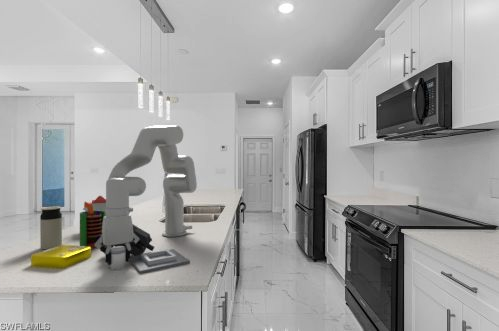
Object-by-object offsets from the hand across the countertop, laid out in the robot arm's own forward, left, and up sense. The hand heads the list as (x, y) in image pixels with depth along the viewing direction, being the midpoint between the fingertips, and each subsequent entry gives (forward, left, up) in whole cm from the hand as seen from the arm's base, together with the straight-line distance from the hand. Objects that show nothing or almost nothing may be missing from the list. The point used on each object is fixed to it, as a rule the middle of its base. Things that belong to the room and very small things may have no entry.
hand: (117, 261), depth 103 cm
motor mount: (-14, +2, -2) cm, 14 cm away
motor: (+5, -36, -2) cm, 36 cm away
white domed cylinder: (0, 0, -2) cm, 2 cm away
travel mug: (+20, -45, -2) cm, 49 cm away
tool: (-6, -12, -2) cm, 14 cm away
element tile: (+16, -20, -3) cm, 26 cm away
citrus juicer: (-2, -69, -2) cm, 69 cm away
